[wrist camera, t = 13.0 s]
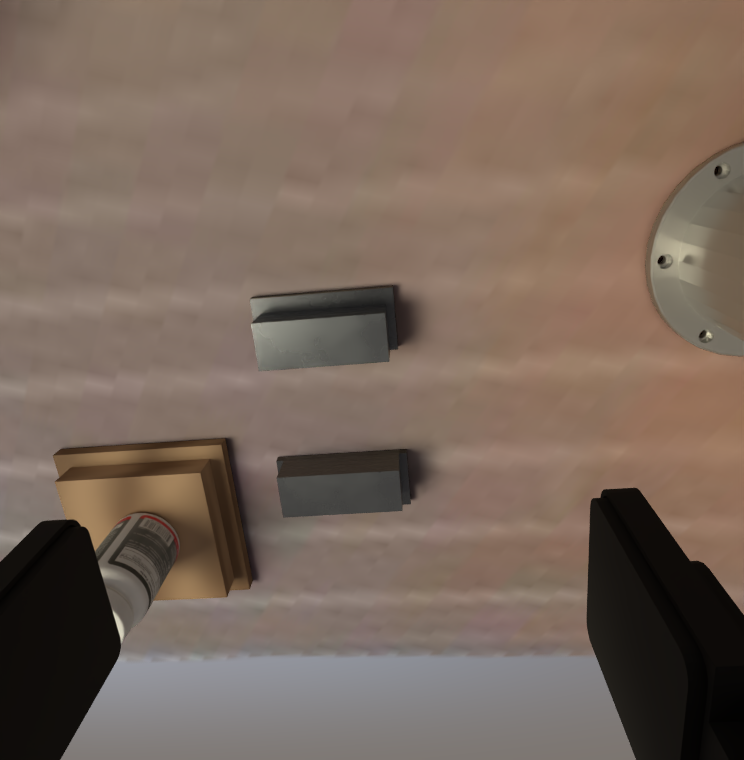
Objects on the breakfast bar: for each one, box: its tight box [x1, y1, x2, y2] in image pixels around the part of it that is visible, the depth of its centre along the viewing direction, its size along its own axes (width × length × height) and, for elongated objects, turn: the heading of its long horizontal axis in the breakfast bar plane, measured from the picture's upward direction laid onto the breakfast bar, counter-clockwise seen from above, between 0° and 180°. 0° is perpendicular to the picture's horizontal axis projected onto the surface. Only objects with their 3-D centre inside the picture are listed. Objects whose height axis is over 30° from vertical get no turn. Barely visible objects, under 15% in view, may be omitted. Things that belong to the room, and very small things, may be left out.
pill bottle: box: [95, 513, 180, 643], centre depth 38 cm, size 5×5×8 cm
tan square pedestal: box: [53, 438, 253, 601], centre depth 43 cm, size 12×12×3 cm
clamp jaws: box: [250, 285, 411, 517], centre depth 39 cm, size 9×15×3 cm, turn 5°
